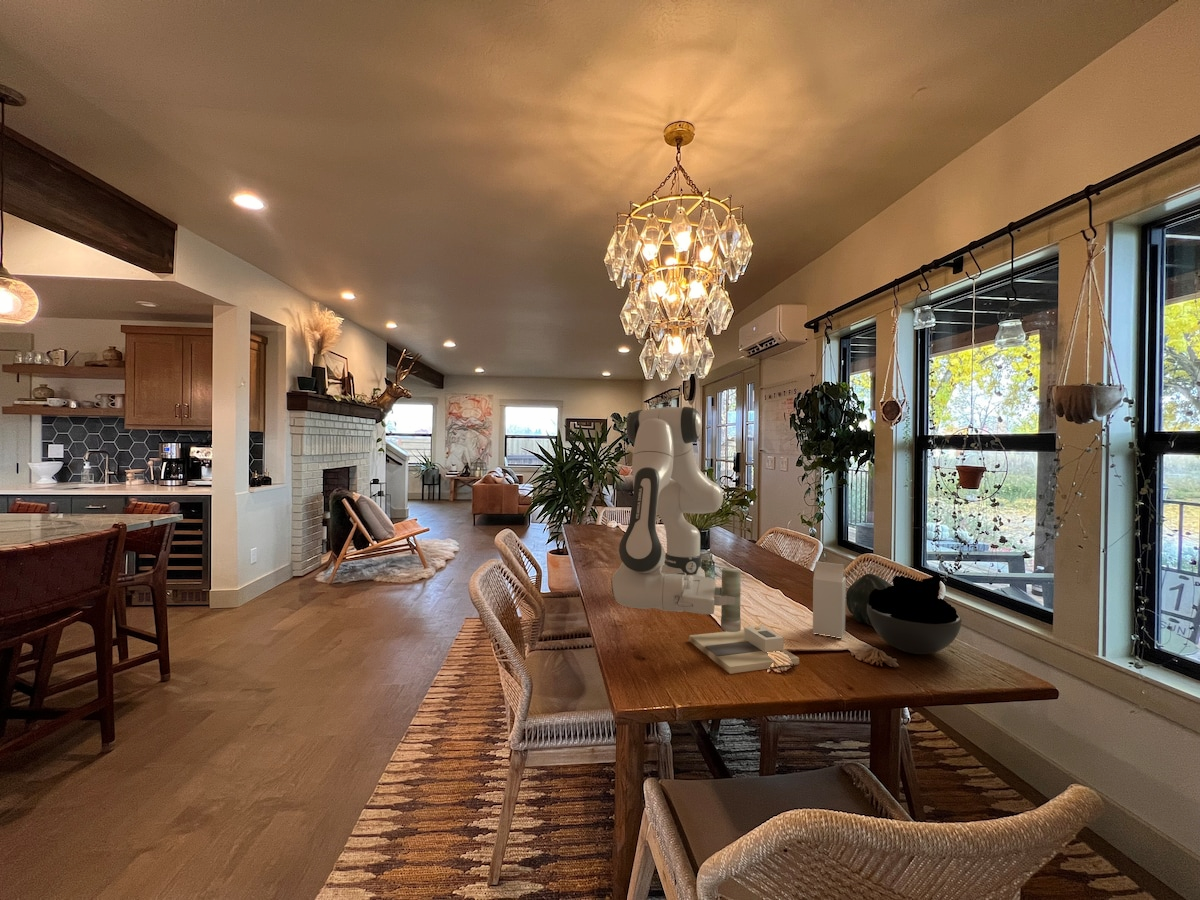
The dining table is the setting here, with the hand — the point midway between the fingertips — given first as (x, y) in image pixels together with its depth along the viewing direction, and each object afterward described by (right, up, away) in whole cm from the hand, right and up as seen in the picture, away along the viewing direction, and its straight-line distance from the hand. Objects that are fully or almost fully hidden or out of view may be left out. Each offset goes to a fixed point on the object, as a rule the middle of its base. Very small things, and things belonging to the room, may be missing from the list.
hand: (734, 596), depth 126 cm
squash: (+47, -14, +25) cm, 55 cm away
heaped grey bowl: (+45, -15, +4) cm, 47 cm away
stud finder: (+8, -12, +3) cm, 15 cm away
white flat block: (+2, -14, +2) cm, 15 cm away
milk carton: (+30, -14, +16) cm, 36 cm away
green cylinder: (-1, -8, 0) cm, 8 cm away
